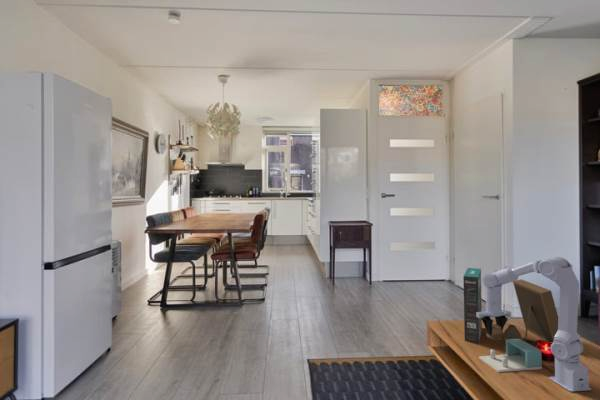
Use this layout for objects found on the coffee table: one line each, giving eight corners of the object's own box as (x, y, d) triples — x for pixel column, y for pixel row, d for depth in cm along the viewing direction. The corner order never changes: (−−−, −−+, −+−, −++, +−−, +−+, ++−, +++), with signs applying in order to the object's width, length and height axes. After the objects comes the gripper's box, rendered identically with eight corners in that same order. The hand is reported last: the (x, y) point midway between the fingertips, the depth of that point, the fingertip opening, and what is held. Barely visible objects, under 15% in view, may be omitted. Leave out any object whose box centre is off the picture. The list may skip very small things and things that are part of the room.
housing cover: (541, 366, 138) (541, 350, 138) (527, 367, 137) (527, 351, 137) (519, 352, 150) (518, 338, 150) (505, 353, 149) (505, 339, 149)
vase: (524, 348, 156) (523, 328, 156) (506, 347, 157) (506, 327, 157) (517, 342, 163) (517, 323, 163) (501, 341, 164) (501, 322, 164)
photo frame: (534, 328, 178) (532, 278, 178) (565, 347, 157) (564, 290, 157) (504, 329, 179) (502, 279, 179) (531, 347, 157) (529, 291, 157)
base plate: (541, 368, 138) (541, 358, 138) (498, 372, 136) (498, 361, 136) (519, 355, 150) (519, 345, 150) (479, 358, 148) (478, 348, 148)
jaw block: (501, 339, 149) (501, 327, 149) (492, 339, 149) (492, 327, 149) (495, 335, 153) (495, 324, 153) (486, 336, 153) (486, 324, 153)
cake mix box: (479, 343, 163) (477, 277, 163) (464, 340, 166) (463, 276, 166) (481, 327, 182) (480, 268, 182) (468, 325, 185) (467, 267, 185)
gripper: (503, 298, 155) (503, 329, 155) (471, 299, 154) (472, 331, 154) (514, 302, 148) (515, 335, 148) (481, 304, 147) (482, 337, 147)
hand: (494, 333), depth 151 cm, fingers closed on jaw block, 4 cm apart
